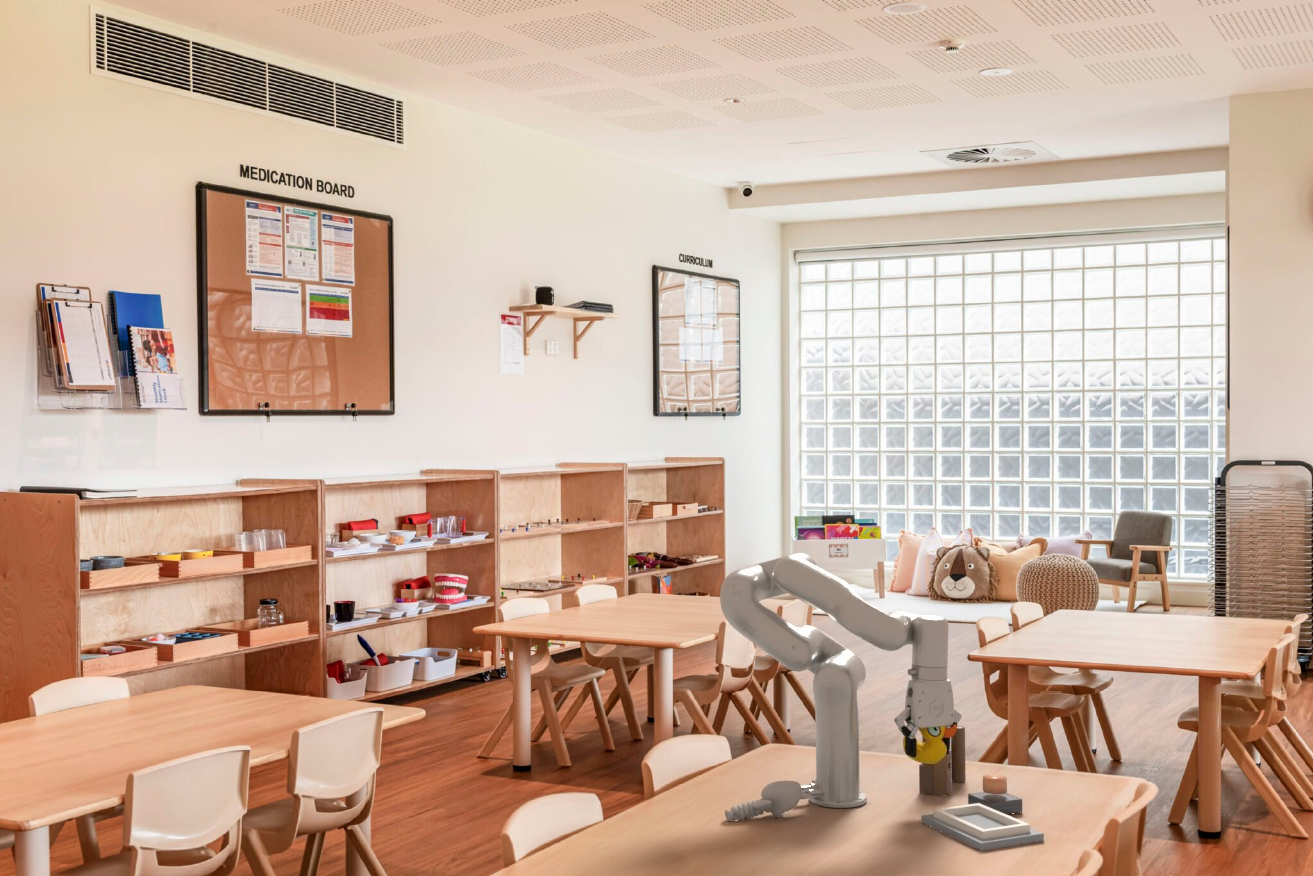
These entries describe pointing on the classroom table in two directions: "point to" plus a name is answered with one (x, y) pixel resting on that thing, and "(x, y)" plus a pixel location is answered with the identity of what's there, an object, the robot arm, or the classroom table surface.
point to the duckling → (932, 744)
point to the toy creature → (770, 801)
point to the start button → (994, 784)
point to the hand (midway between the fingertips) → (927, 753)
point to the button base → (997, 802)
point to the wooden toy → (945, 768)
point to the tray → (981, 826)
